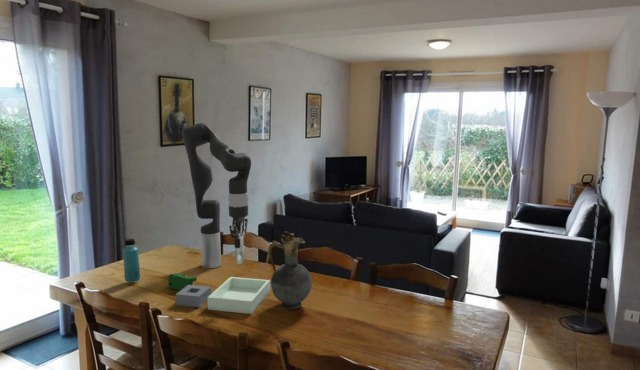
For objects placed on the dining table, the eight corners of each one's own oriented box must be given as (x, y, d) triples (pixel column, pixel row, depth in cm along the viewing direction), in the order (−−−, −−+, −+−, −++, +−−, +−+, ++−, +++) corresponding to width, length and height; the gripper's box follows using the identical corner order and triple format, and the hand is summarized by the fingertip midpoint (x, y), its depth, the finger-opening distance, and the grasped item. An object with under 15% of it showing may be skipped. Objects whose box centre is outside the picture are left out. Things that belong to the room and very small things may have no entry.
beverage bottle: (136, 285, 189) (134, 241, 186) (121, 285, 190) (119, 241, 186) (143, 280, 196) (140, 237, 193) (128, 280, 196) (126, 237, 193)
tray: (230, 287, 188) (230, 276, 187) (270, 291, 184) (270, 280, 183) (207, 309, 166) (207, 297, 166) (252, 313, 163) (251, 301, 162)
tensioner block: (188, 295, 180) (188, 284, 179) (211, 297, 178) (210, 286, 177) (176, 305, 170) (175, 294, 169) (199, 307, 168) (199, 296, 167)
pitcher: (299, 315, 162) (299, 238, 157) (260, 303, 172) (259, 230, 167) (315, 305, 171) (316, 231, 166) (277, 294, 181) (277, 224, 176)
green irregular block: (191, 297, 188) (200, 280, 187) (181, 299, 183) (190, 281, 181) (175, 282, 194) (184, 264, 192) (165, 283, 188) (173, 265, 187)
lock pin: (237, 260, 175) (236, 232, 173) (244, 261, 174) (244, 232, 172) (234, 263, 172) (233, 234, 170) (242, 263, 171) (241, 234, 169)
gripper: (236, 200, 177) (237, 241, 179) (221, 207, 163) (223, 251, 166) (253, 201, 175) (254, 242, 178) (240, 208, 162) (241, 252, 164)
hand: (239, 246), depth 172 cm, fingers closed on lock pin, 3 cm apart
